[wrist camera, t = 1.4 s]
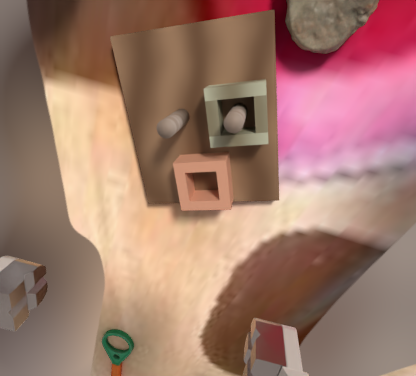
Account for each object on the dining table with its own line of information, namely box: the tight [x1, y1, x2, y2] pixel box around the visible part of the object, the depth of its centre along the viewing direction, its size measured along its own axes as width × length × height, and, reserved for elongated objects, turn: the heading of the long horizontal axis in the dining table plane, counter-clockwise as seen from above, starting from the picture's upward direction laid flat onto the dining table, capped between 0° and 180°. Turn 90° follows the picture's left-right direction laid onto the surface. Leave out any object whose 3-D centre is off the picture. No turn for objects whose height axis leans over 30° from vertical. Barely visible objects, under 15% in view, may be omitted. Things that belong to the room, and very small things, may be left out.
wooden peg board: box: [110, 10, 279, 204], centre depth 31 cm, size 17×20×8 cm
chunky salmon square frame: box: [173, 152, 234, 211], centre depth 34 cm, size 6×6×3 cm
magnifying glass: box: [102, 329, 134, 376], centre depth 57 cm, size 15×6×2 cm, turn 170°
